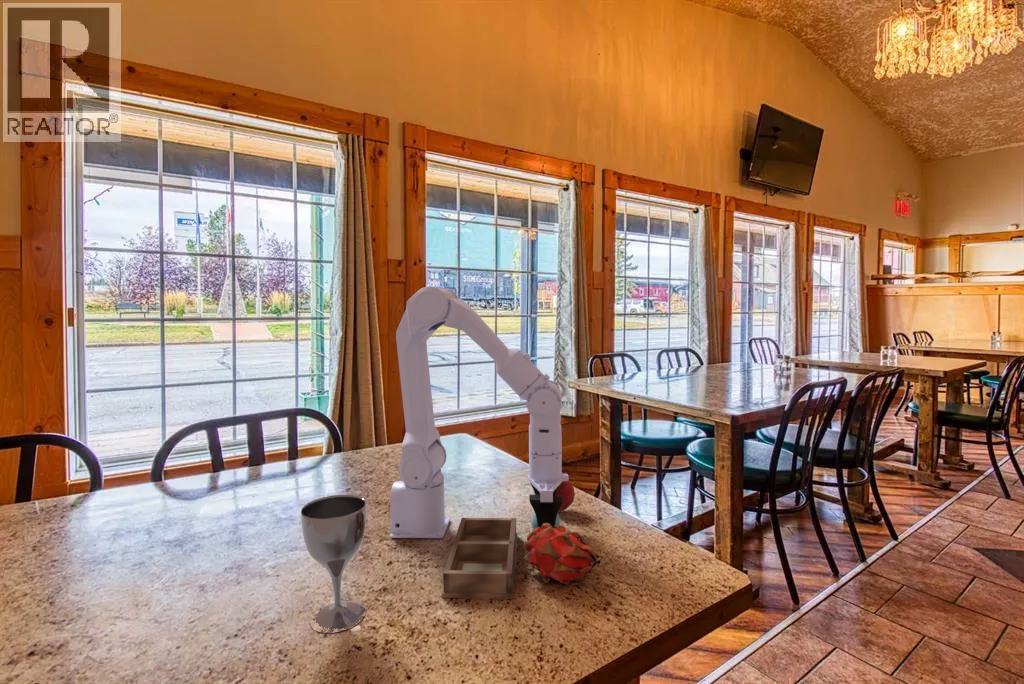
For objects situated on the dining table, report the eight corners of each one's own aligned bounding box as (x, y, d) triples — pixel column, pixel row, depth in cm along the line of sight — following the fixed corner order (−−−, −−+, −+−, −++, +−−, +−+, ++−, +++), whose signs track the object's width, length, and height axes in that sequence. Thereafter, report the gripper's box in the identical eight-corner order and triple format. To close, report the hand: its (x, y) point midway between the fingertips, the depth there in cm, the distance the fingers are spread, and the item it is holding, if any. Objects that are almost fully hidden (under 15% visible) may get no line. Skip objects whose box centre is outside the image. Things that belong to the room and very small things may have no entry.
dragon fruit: (520, 574, 80) (594, 603, 75) (505, 566, 73) (585, 597, 68) (538, 521, 83) (609, 545, 78) (525, 508, 76) (603, 534, 72)
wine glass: (316, 600, 71) (311, 495, 69) (374, 597, 71) (370, 493, 70) (297, 637, 63) (291, 520, 62) (362, 633, 63) (358, 517, 62)
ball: (531, 541, 87) (531, 513, 87) (531, 528, 92) (531, 502, 92) (560, 541, 87) (560, 513, 87) (559, 529, 92) (559, 502, 92)
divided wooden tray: (441, 597, 71) (441, 574, 71) (461, 535, 90) (460, 517, 90) (513, 598, 70) (512, 575, 70) (517, 536, 89) (517, 517, 89)
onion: (573, 519, 96) (573, 478, 96) (543, 517, 97) (543, 476, 97) (575, 507, 102) (575, 468, 101) (547, 505, 103) (547, 466, 102)
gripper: (571, 464, 81) (571, 546, 82) (565, 439, 96) (565, 509, 97) (527, 464, 81) (528, 545, 82) (528, 439, 96) (528, 509, 97)
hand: (545, 526), depth 90 cm, fingers open, 7 cm apart
